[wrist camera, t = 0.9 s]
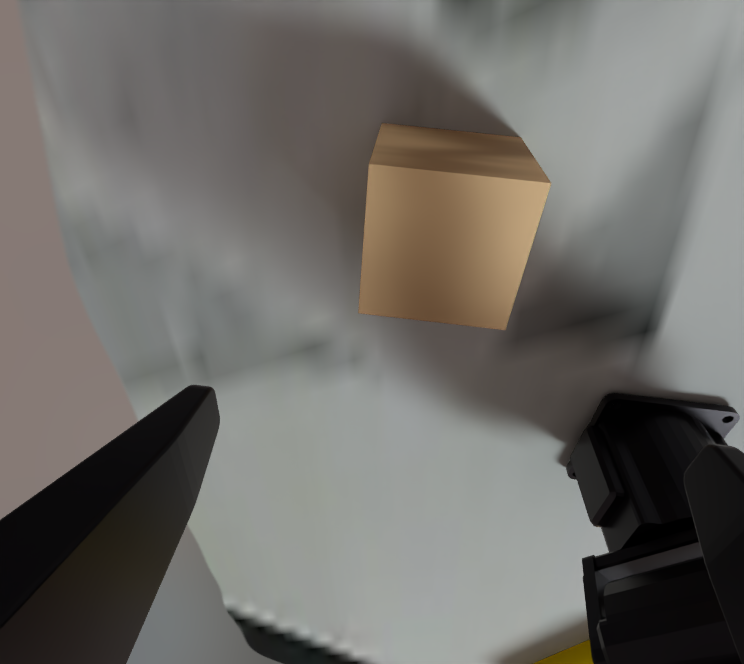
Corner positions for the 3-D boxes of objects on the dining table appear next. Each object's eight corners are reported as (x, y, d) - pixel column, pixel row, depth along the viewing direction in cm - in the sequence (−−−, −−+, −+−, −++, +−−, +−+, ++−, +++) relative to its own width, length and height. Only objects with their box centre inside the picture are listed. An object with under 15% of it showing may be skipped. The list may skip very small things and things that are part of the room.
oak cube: (520, 136, 16) (551, 183, 12) (488, 260, 19) (505, 329, 15) (381, 122, 17) (368, 163, 13) (371, 247, 20) (358, 313, 16)
